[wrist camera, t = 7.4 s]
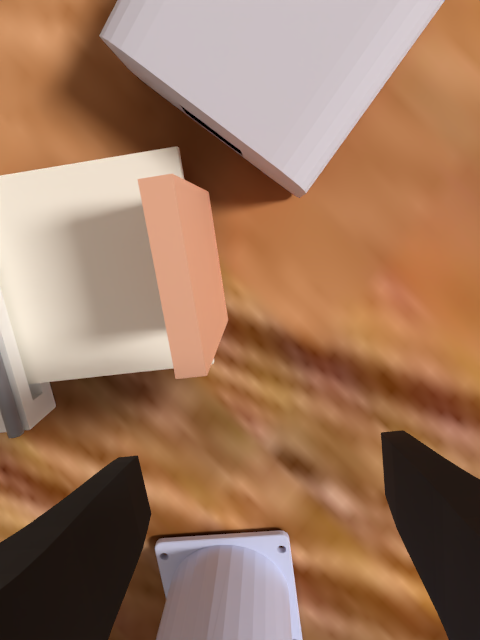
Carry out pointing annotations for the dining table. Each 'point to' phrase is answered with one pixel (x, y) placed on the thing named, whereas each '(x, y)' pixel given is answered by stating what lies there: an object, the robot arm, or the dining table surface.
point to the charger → (269, 69)
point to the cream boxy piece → (111, 268)
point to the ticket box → (18, 386)
